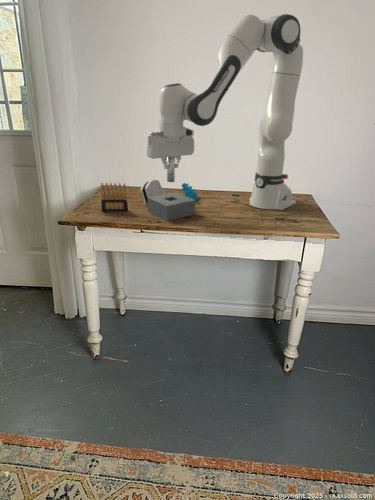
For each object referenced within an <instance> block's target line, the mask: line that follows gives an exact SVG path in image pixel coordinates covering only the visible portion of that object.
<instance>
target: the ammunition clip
mask: <svg viewBox="0 0 375 500" xmlns="http://www.w3.org/2000/svg"><path fill="white" fill-rule="evenodd" d="M100 196H101V197H100V199H101V203H100V204H101V212H102V213H103V212H104V213H106V212H107V213H112V212H113V213H114V212H115V213H117V212H118V213H128V212H129V206H128V194H127V187H126V184H125V182H123V185H122V184H121V183H120V182H119V183H118V187H117V183H116V182H114V185H113V184H112V182H109V184H108V183H107V182H106V183H105V185H104V183H103V182H101V184H100Z"/></svg>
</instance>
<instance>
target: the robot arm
mask: <svg viewBox="0 0 375 500" xmlns="http://www.w3.org/2000/svg"><path fill="white" fill-rule="evenodd" d="M300 42H301V24H300V21H299V19H298V18H297V17H296V16H295V15H293V14H287V13H285V14H280V15H279V14H278V15H272V16H271V17H269V18H267V19H262V20H261V19H260V18H259V17H258V16H256V15H254V14H247V15H245V16H243V17H242V18H241V19H240V20H239V21H238V22H237V23H236V24H235V26H234V27H233V28H232V29H231V30H230V31H229V33H228V34H227V36H226V37H225V38H224V40H223V41H222V43H221V44H220V47H219V49H218V51H217V53H216V60H217V63H218V69H217V72H216V73H215V75H214V76H213V78H212V79H211V81H210V82H209V84H208V86H207V87H206V89H205V90H204V91H203V92H201V93H199V94H197V93H194V92H193V91H191V90H189V89H187V88H186V87H185V86H183V84H182V83H178V82H177V83H170V84H167V85H164V86H163V87H162V88H161V90H160V93H159V94H160V95H159V113H160V119H159V131H155V132H154V131H152V132H150V133H149V134H148V136H147V146H146V155H147V157H148V158H150V159H152V160H153V159H154V160H155V159H160V160H161V162H162V164H163V169H165V170H167V169H169V164H167V157H175V169H176V168H177V169H178V168H179V164H180V161H181V159H182V156H183V157H184V156H190V155H191V156H192V155H193V154H194V152H195V139H194V134H195V131H194V130H193V129H190V128H189V127H185V126H184V121H188V122H191V123H192V124H195V125H196V126H200V127H204V126H208V125H210V124H211V123H212V122H213V121H214V120H215V118H216V116H217V114H218V109H219V106H220V104H221V101H222V100H223V98H224V97H225V95H226V94H227V91H229V89H230V87H231V85H233V82H235V79H236V78H237V76H238V74H239V73H240V72H241V70H242V69H243V68H244V67H245V65H246V64H247V62H248V61H249V60H250V59H251V57H252V56H253V54H254V53H255V51H259V52H261V53H272V57H273V65H272V69H271V70H272V71H271V74H270V81H269V85H268V89H267V100H266V110H265V115H263V116H262V118H261V120H260V122H259V131H258V133H259V134H258V135H259V136H258V157H257V167H256V172H255V175H254V181H255V182H254V183H253V186H252V189H251V195H250V197H249V199H248V200H249V205H250V206H252V207H254V208H258V209H263V210H277V211H278V210H279V211H283V210H285V209H287V208H289V207H291V206H293V205H296V204H297V201H296V200H295V199H294V198H293V199H292V195H293V194H292V190H291V188H290V187H289V186H288V185H286V183H285V180H288V178H289V175H288V174H285V173H283V172H284V164H285V158H286V156H285V155H286V154H285V152H286V151H285V143H286V142H285V141H286V140H287V139H288V138H289V137H290V136H291V134H292V131H293V123H294V122H293V121H294V116H295V106H296V98H297V93H298V89H299V84H300V79H301V74H302V69H303V62H304V47H303V46H302V45H301V44H300Z"/></svg>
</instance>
